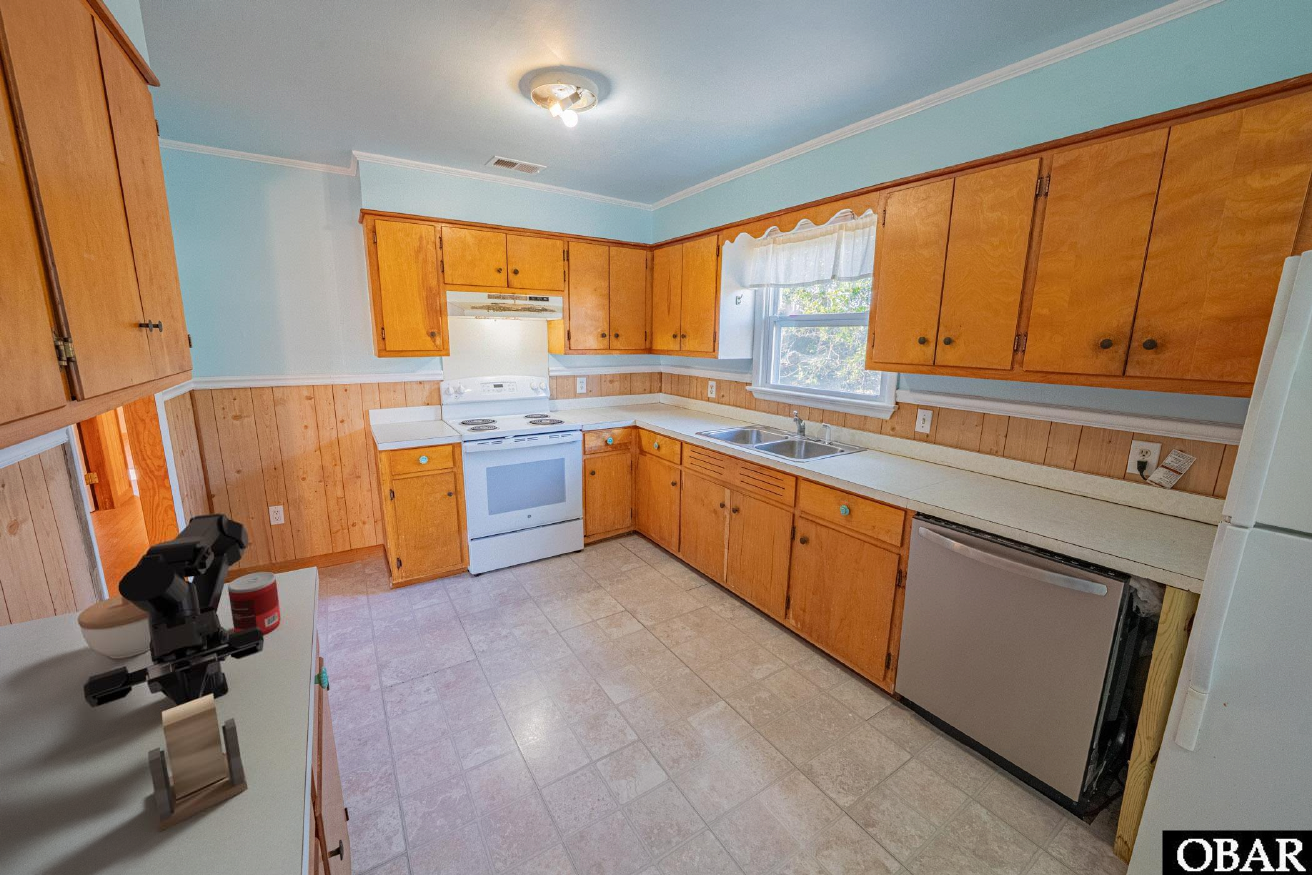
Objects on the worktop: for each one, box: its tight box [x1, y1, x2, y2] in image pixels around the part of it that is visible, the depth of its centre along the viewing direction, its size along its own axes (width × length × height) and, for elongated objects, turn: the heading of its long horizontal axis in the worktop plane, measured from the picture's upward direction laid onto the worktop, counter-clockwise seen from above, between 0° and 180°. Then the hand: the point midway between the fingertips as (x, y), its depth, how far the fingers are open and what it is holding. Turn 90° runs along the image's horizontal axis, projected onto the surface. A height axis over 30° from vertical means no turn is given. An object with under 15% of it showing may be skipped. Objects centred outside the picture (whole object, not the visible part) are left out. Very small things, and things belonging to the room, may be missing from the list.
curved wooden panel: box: [161, 693, 227, 799], centre depth 66 cm, size 4×5×11 cm
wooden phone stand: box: [147, 717, 248, 832], centre depth 67 cm, size 8×9×10 cm
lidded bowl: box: [77, 594, 151, 660], centre depth 96 cm, size 13×13×11 cm
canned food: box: [227, 571, 282, 636], centre depth 103 cm, size 8×8×11 cm
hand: (191, 721), depth 70 cm, fingers closed
